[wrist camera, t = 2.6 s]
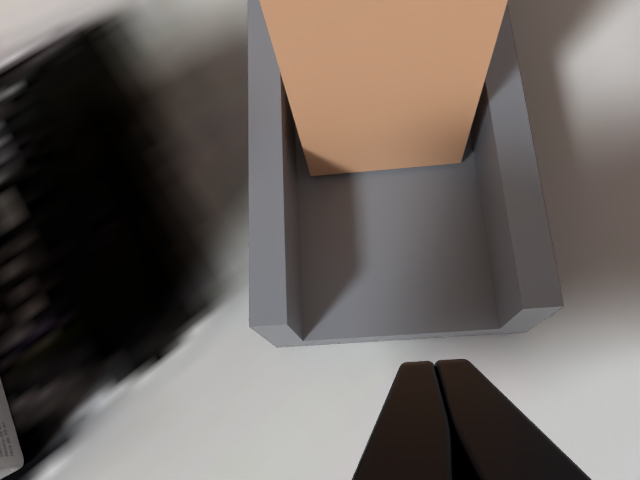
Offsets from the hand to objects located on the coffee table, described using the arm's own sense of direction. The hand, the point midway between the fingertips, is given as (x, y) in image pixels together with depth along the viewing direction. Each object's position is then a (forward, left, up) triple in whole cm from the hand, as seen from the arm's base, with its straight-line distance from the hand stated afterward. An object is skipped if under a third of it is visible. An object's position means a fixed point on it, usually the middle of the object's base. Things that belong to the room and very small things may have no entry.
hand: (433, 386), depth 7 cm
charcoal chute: (+8, +6, -11) cm, 15 cm away
